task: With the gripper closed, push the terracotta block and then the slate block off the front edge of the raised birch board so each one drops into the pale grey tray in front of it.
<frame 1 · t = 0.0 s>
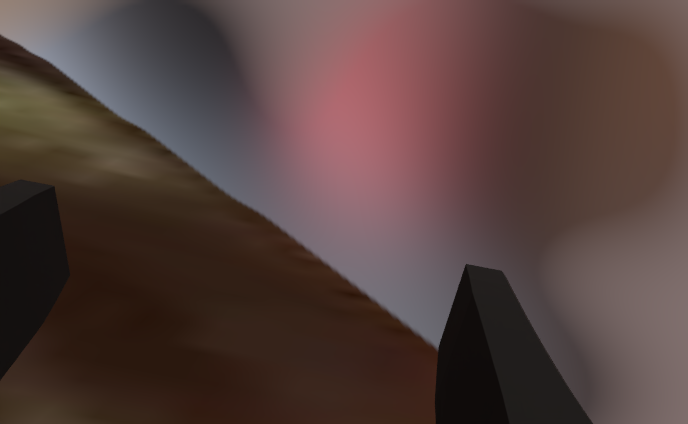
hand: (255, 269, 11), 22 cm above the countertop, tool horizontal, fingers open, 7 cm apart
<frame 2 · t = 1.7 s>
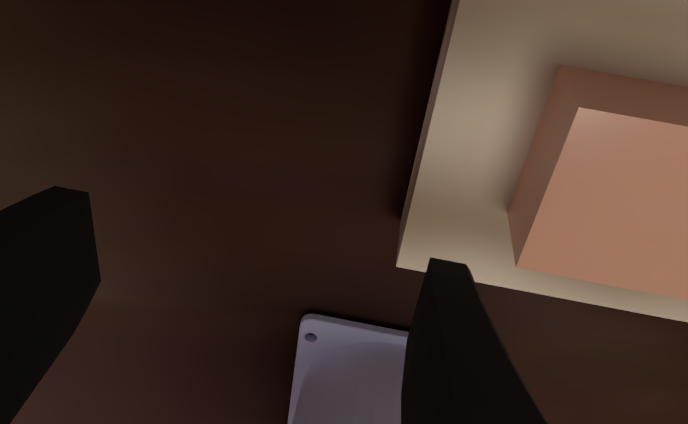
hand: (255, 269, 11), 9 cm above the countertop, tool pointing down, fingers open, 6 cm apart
terracotta block: (615, 160, 16), point 2 cm above the countertop, touching birch board
birch board: (636, 20, 16), on the countertop
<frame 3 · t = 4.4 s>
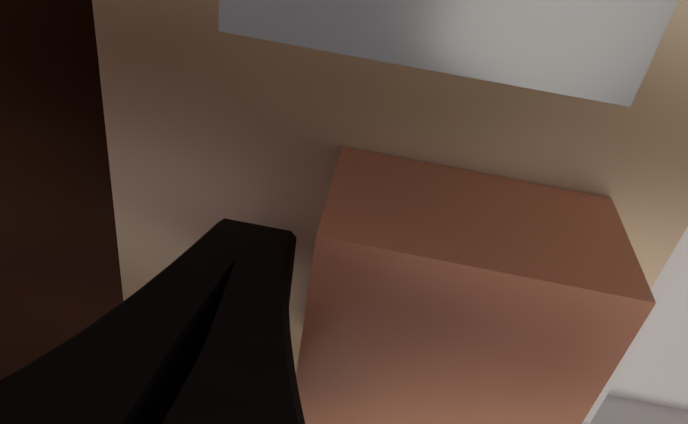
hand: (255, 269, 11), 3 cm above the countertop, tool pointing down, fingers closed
terracotta block: (443, 273, 11), point 3 cm above the countertop, touching gripper
birch board: (409, 60, 12), on the countertop
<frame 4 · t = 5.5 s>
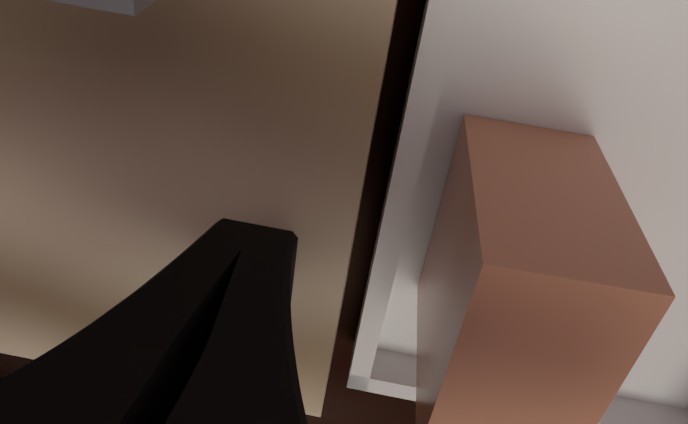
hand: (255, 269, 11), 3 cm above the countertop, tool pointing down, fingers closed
terracotta block: (440, 279, 11), point 3 cm above the countertop, tilted 91°, touching grey tray
birch board: (136, 10, 12), on the countertop
grey tray: (646, 102, 11), on the countertop
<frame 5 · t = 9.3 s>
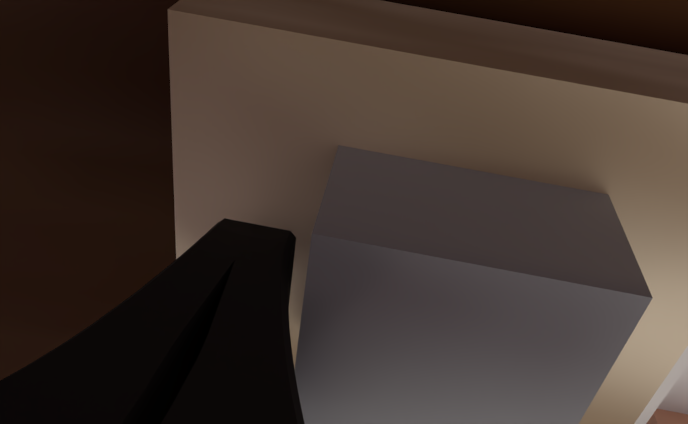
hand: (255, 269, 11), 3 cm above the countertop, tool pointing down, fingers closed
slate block: (441, 272, 11), point 3 cm above the countertop, touching birch board, gripper
birch board: (401, 325, 15), on the countertop
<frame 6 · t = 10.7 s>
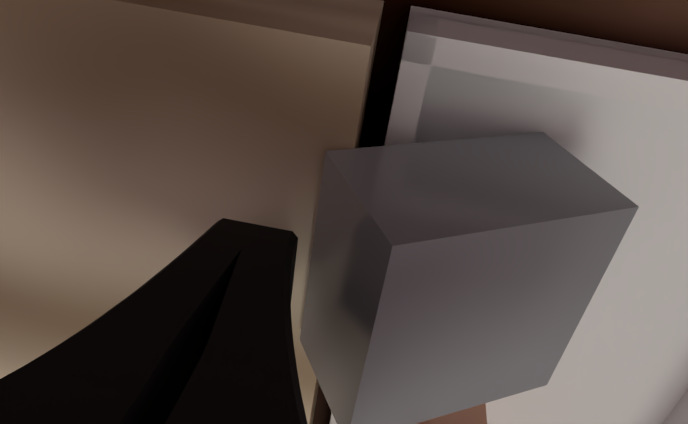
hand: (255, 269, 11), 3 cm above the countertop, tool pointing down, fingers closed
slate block: (417, 239, 12), point 2 cm above the countertop, tilted 30°, touching birch board, grey tray
birch board: (145, 274, 16), on the countertop
grey tray: (521, 348, 15), on the countertop
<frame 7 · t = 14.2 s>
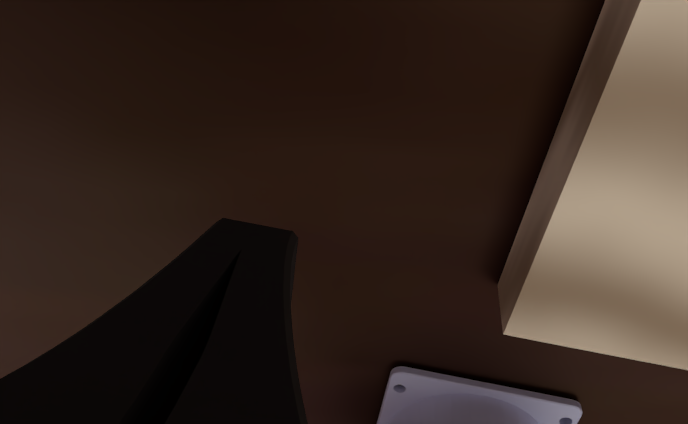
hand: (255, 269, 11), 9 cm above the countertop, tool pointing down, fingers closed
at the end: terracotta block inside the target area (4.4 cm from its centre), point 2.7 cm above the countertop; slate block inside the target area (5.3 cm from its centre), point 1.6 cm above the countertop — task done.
